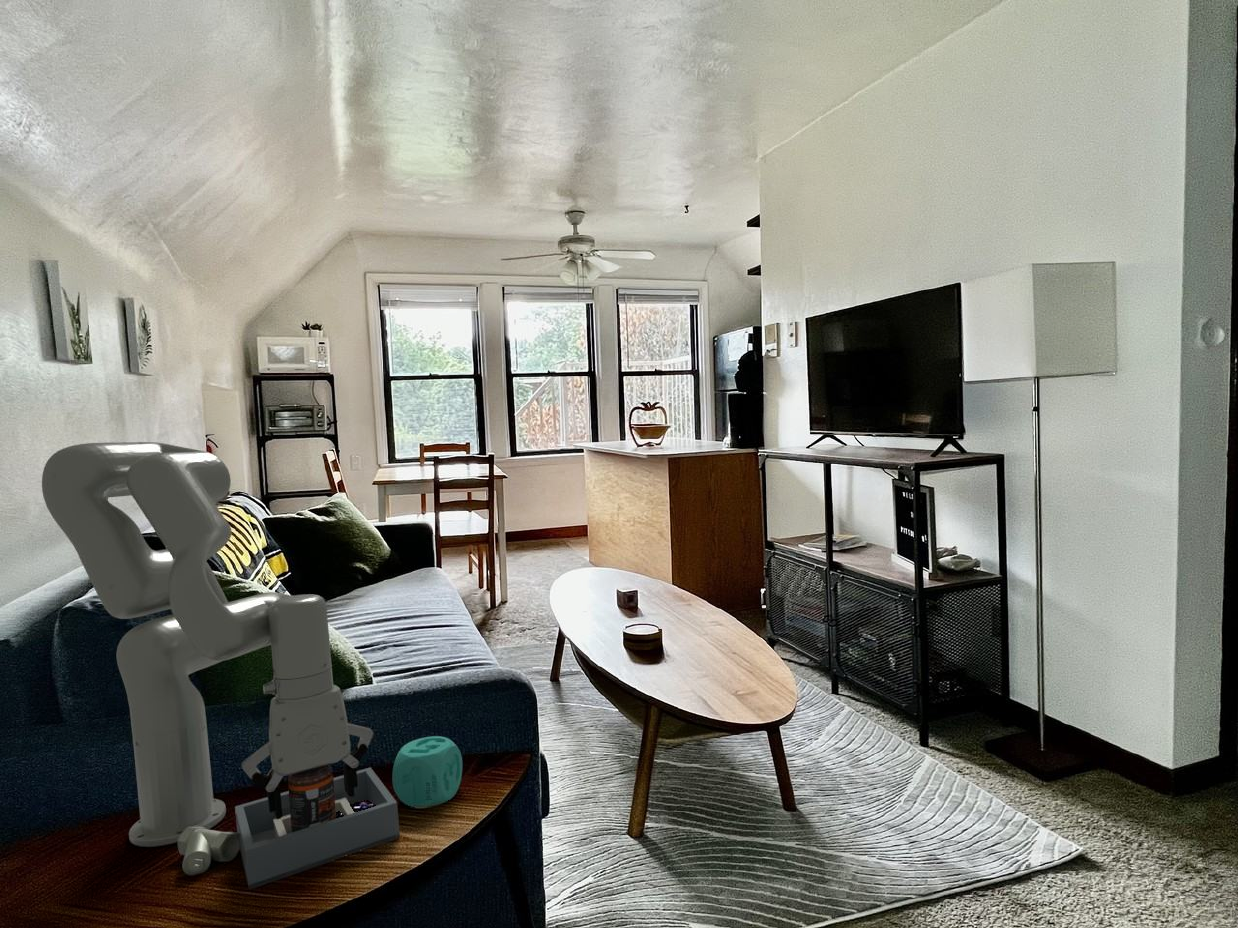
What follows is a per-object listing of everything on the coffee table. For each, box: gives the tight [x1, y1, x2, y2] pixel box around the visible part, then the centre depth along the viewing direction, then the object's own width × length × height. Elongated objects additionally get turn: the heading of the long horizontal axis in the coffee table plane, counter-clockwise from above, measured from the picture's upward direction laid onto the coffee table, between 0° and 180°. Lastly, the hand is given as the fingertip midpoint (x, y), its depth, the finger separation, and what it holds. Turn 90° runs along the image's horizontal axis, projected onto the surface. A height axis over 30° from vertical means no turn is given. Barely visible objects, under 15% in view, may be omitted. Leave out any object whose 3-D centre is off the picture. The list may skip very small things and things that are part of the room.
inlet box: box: [234, 766, 401, 891], centre depth 104 cm, size 15×19×5 cm
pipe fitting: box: [177, 827, 240, 876], centre depth 101 cm, size 8×4×7 cm
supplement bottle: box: [287, 764, 336, 832], centre depth 105 cm, size 6×6×11 cm
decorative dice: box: [391, 735, 463, 808], centre depth 115 cm, size 8×8×8 cm
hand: (314, 803), depth 104 cm, fingers open, 9 cm apart
